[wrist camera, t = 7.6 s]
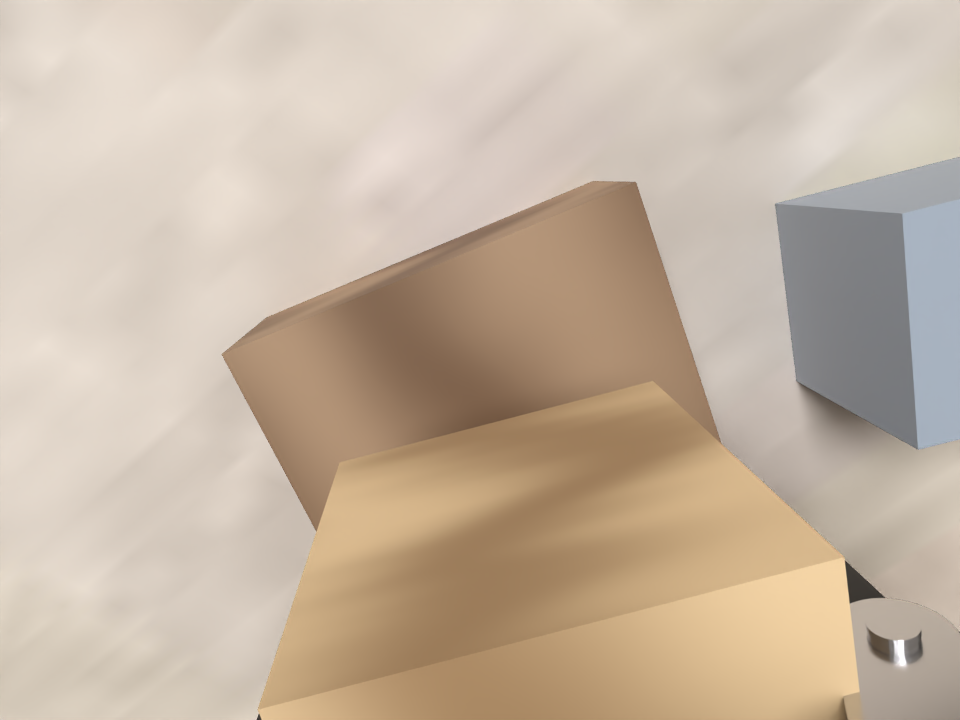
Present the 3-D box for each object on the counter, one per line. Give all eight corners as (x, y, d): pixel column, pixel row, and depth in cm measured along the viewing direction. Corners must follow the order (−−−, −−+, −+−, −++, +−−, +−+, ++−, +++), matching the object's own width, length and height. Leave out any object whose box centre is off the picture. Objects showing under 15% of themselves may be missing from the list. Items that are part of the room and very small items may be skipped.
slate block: (959, 156, 19) (1157, 148, 14) (967, 336, 21) (1149, 391, 15) (773, 203, 19) (902, 213, 14) (794, 380, 21) (918, 449, 16)
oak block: (653, 381, 11) (843, 556, 6) (702, 645, 13) (891, 972, 8) (339, 462, 11) (257, 710, 6) (425, 718, 13) (419, 1095, 8)
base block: (590, 181, 19) (636, 181, 15) (692, 477, 22) (757, 552, 17) (269, 315, 19) (221, 354, 15) (408, 589, 22) (401, 689, 18)
